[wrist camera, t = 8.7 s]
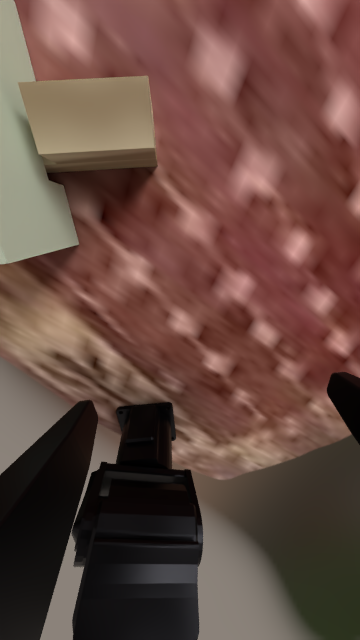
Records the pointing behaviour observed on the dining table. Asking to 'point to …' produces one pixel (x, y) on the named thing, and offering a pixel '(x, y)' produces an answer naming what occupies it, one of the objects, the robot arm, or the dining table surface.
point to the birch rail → (91, 123)
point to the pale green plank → (25, 161)
